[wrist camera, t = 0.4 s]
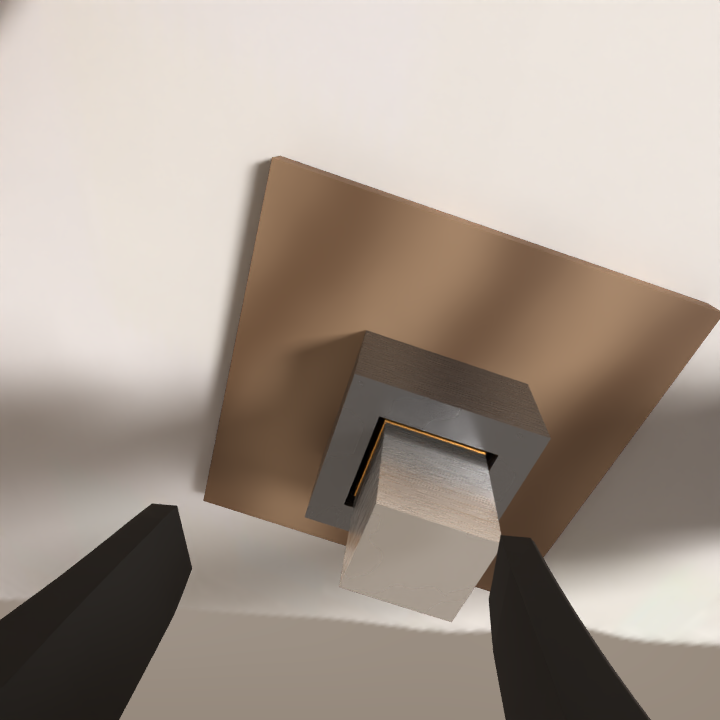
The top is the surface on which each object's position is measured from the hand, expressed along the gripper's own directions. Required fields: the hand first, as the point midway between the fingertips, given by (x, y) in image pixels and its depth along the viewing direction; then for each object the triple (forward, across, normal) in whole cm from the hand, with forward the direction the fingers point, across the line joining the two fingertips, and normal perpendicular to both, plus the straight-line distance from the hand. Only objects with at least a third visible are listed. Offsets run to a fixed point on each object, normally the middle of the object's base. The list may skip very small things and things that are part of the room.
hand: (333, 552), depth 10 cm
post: (+9, -2, +2) cm, 9 cm away
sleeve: (+10, -2, +2) cm, 10 cm away
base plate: (+10, -2, +2) cm, 10 cm away
